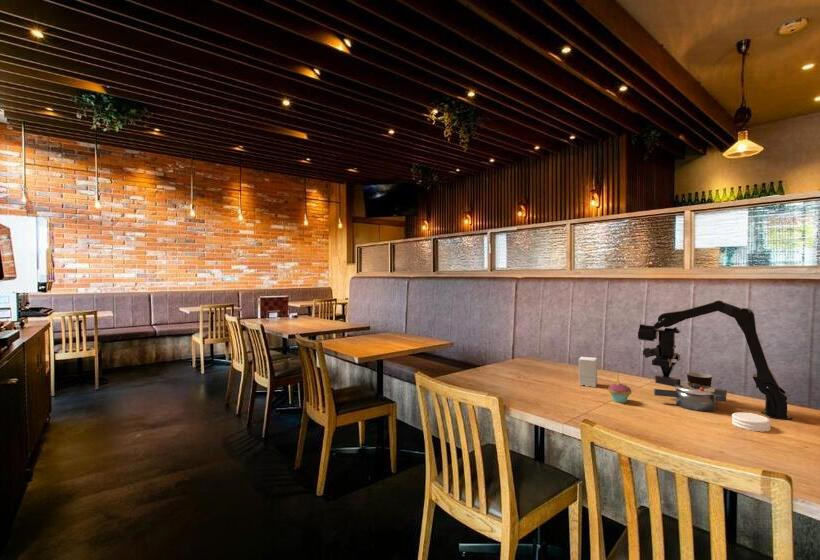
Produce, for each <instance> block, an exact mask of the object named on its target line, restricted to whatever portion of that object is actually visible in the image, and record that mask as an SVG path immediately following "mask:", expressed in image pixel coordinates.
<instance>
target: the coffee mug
mask: <svg viewBox="0 0 820 560" xmlns="http://www.w3.org/2000/svg"><path fill="white" fill-rule="evenodd" d="M686 378H687V383H691V384H692V383H696V384H700V385H705V386H709V387H712V379H713V376H712V375H711V374H707V373H702V372H686Z"/></svg>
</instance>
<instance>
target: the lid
mask: <svg viewBox="0 0 820 560" xmlns="http://www.w3.org/2000/svg"><path fill="white" fill-rule="evenodd" d="M654 380H655V381H654V382H655V384H660V385H665V386H670V387H674V389H675V391H676V390H678V391H681V392H685V393H689V394H695V395H719V396H726V397H728V396H727V395H728V393H727V392H728V390H727V389H723V388H719V387H718V388H714V387H712V386H711V387H709V386H705V385H700V384H696V383H692V384H691V383H688V382H684V383H683V382H681V378H676V377H671V376H669V377H667V376H663V374H662V375H660V374H657V375H655V379H654Z"/></svg>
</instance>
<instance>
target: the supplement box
mask: <svg viewBox="0 0 820 560" xmlns="http://www.w3.org/2000/svg"><path fill="white" fill-rule="evenodd" d="M579 384H580V385H585V386H584V387H588V386H592V387H591V388H596V387H597V386H596V385H598V358H597V357H590V356H580V357H579V358H578V385H579Z"/></svg>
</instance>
